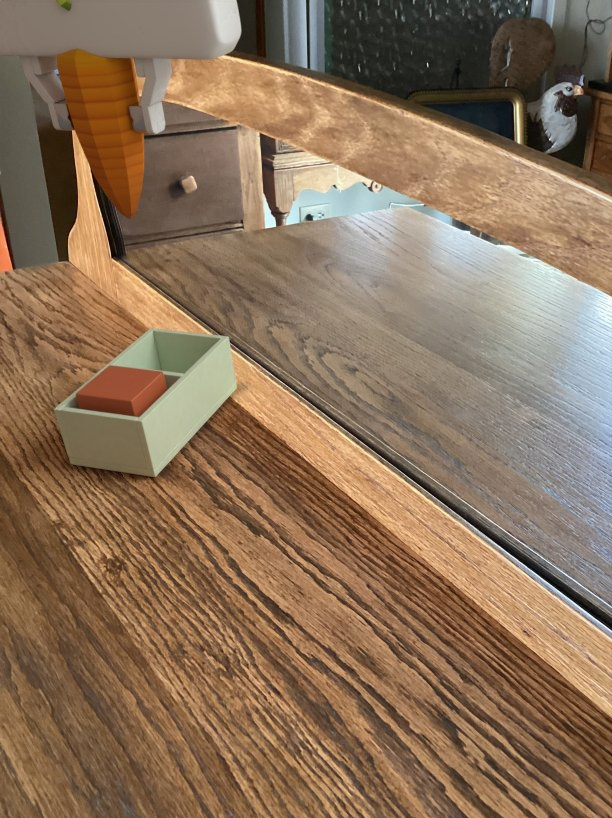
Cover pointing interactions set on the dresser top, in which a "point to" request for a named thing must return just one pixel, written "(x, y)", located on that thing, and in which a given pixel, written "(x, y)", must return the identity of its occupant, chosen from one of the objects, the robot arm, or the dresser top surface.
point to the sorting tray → (166, 418)
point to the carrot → (105, 121)
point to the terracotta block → (122, 391)
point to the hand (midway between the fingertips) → (109, 130)
